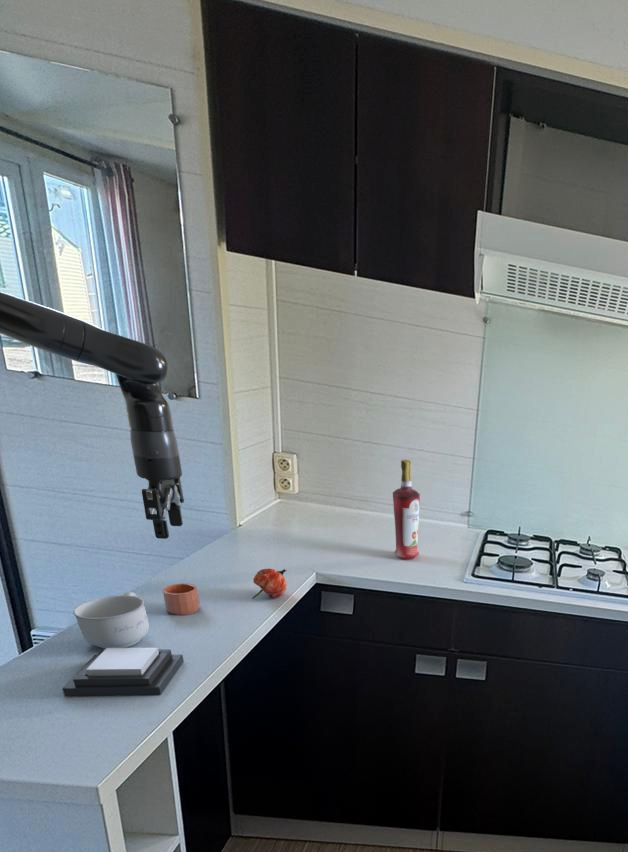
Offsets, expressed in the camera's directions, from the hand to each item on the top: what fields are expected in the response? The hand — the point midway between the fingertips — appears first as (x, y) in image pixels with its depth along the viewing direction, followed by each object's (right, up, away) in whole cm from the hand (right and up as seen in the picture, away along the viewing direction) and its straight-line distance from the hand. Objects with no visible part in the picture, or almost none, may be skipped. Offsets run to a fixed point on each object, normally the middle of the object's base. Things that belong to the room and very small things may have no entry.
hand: (169, 531), depth 130 cm
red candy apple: (+11, -13, +18) cm, 25 cm away
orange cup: (-2, -16, +7) cm, 18 cm away
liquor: (+33, +2, +54) cm, 63 cm away
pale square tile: (+6, -27, -20) cm, 34 cm away
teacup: (-4, -23, -7) cm, 24 cm away
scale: (+5, -30, -19) cm, 35 cm away
